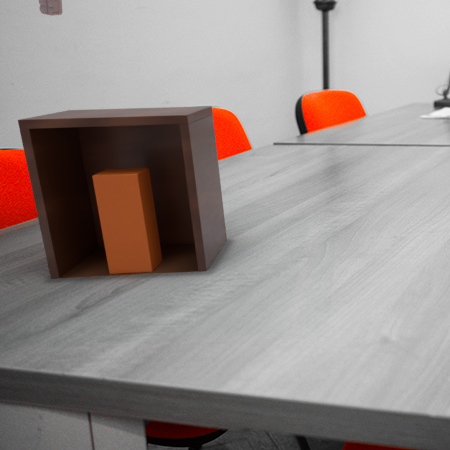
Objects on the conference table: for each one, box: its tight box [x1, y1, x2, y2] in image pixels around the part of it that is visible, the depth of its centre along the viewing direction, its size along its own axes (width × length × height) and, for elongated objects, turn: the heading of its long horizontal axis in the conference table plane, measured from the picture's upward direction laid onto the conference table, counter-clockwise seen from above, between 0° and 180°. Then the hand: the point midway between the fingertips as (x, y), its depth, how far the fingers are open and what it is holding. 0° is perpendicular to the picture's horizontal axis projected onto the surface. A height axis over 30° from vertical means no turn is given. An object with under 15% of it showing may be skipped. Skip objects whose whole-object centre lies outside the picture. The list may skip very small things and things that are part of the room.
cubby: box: [17, 105, 228, 280], centre depth 71 cm, size 18×12×20 cm, turn 95°
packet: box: [92, 168, 162, 274], centre depth 69 cm, size 5×4×12 cm
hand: (18, 16), depth 62 cm, fingers open, 8 cm apart
